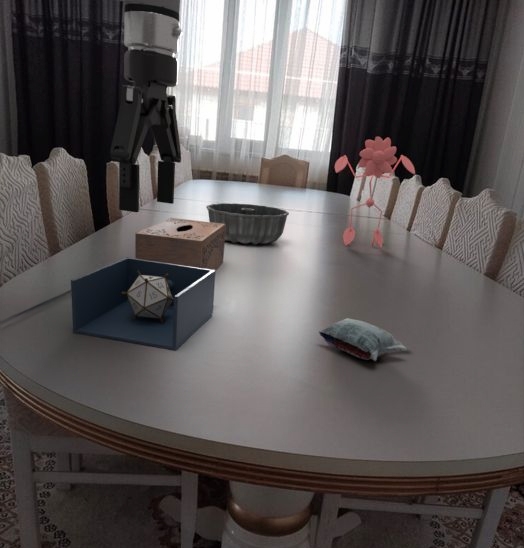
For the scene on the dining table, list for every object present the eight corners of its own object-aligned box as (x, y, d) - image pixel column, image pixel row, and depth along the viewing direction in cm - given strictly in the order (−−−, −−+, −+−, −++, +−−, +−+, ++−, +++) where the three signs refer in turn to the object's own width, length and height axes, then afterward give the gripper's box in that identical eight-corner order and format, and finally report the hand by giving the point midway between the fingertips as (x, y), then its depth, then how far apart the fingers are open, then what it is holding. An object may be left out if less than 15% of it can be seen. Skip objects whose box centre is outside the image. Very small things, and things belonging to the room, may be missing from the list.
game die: (138, 337, 91) (113, 285, 91) (182, 317, 93) (158, 267, 93) (141, 329, 82) (113, 272, 82) (189, 308, 85) (162, 253, 85)
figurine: (322, 241, 180) (336, 132, 167) (394, 247, 183) (414, 140, 170) (330, 250, 166) (347, 132, 153) (408, 256, 169) (431, 141, 155)
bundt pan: (198, 243, 157) (200, 209, 153) (210, 229, 181) (211, 199, 177) (285, 252, 157) (289, 218, 153) (285, 237, 181) (288, 207, 177)
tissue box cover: (169, 256, 137) (170, 217, 133) (223, 262, 136) (225, 224, 132) (135, 279, 113) (135, 233, 110) (199, 287, 112) (201, 241, 108)
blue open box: (176, 350, 79) (177, 296, 76) (72, 332, 82) (70, 280, 78) (229, 299, 106) (232, 258, 103) (150, 287, 109) (151, 246, 106)
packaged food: (350, 336, 92) (354, 309, 90) (405, 360, 84) (410, 331, 82) (315, 345, 87) (319, 317, 85) (370, 371, 79) (375, 341, 77)
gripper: (138, 37, 61) (135, 219, 69) (204, 68, 84) (197, 202, 92) (80, 32, 63) (84, 211, 71) (161, 64, 85) (157, 197, 93)
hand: (148, 206), depth 81 cm, fingers open, 13 cm apart
